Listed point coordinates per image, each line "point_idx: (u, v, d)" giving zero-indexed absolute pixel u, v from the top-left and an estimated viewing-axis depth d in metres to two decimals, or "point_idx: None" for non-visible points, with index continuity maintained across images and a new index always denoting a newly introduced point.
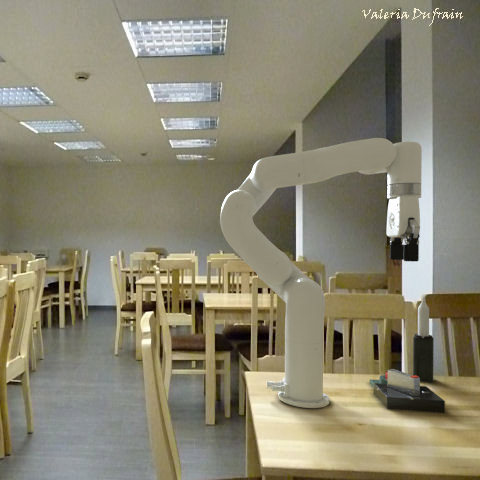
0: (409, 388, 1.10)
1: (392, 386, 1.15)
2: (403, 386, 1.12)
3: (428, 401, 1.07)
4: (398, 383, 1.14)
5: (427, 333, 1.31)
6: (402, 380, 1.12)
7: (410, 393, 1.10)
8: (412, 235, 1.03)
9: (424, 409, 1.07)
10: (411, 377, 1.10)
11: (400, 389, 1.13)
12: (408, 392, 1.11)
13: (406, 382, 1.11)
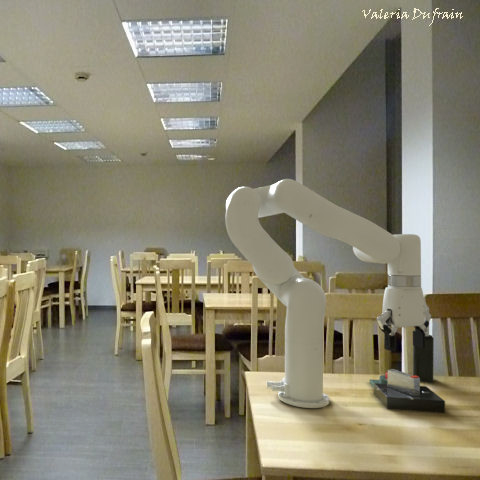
0: (409, 388, 1.10)
1: (392, 386, 1.15)
2: (403, 386, 1.12)
3: (428, 401, 1.07)
4: (398, 383, 1.14)
5: (427, 333, 1.31)
6: (402, 380, 1.12)
7: (410, 393, 1.10)
8: (379, 326, 1.11)
9: (424, 409, 1.07)
10: (411, 377, 1.10)
11: (400, 389, 1.13)
12: (408, 392, 1.11)
13: (406, 382, 1.11)
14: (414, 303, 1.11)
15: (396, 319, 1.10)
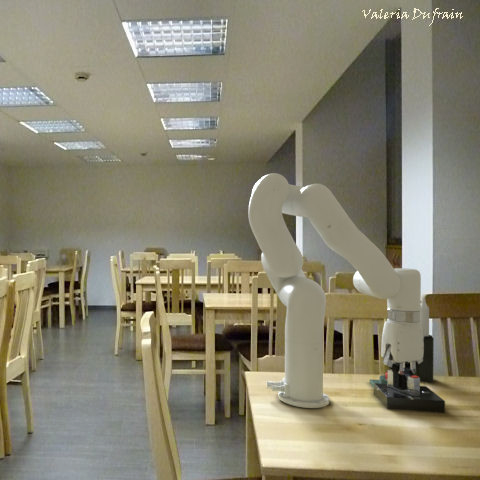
0: (409, 388, 1.10)
1: (392, 386, 1.15)
2: None
3: (428, 401, 1.07)
4: None
5: (427, 333, 1.31)
6: None
7: (410, 393, 1.10)
8: (389, 366, 1.13)
9: (424, 409, 1.07)
10: (411, 377, 1.10)
11: None
12: (408, 392, 1.11)
13: (406, 382, 1.11)
14: (413, 338, 1.11)
15: (395, 354, 1.10)
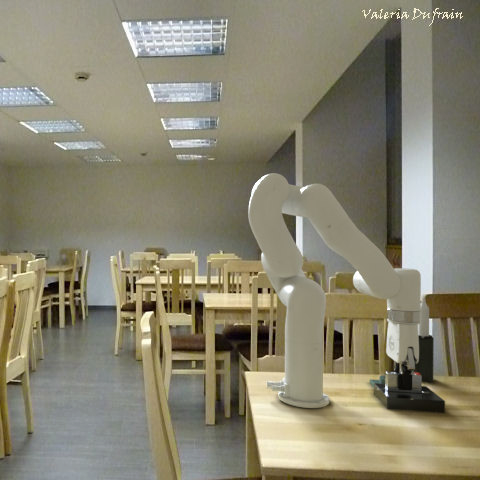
0: (416, 386, 1.12)
1: (394, 389, 1.13)
2: None
3: (428, 401, 1.07)
4: None
5: (427, 333, 1.31)
6: None
7: (417, 391, 1.12)
8: (406, 369, 1.10)
9: (424, 409, 1.07)
10: (418, 375, 1.12)
11: None
12: (414, 390, 1.12)
13: (412, 381, 1.12)
14: None
15: (418, 356, 1.08)
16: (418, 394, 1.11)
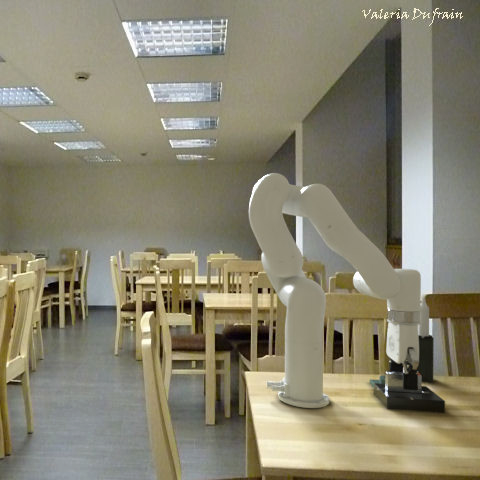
0: None
1: (394, 389, 1.13)
2: None
3: (428, 401, 1.07)
4: (402, 384, 1.13)
5: (427, 333, 1.31)
6: None
7: (417, 391, 1.12)
8: (411, 367, 1.06)
9: (424, 409, 1.07)
10: (418, 375, 1.12)
11: None
12: (414, 390, 1.12)
13: None
14: None
15: (418, 356, 1.08)
16: (418, 394, 1.11)
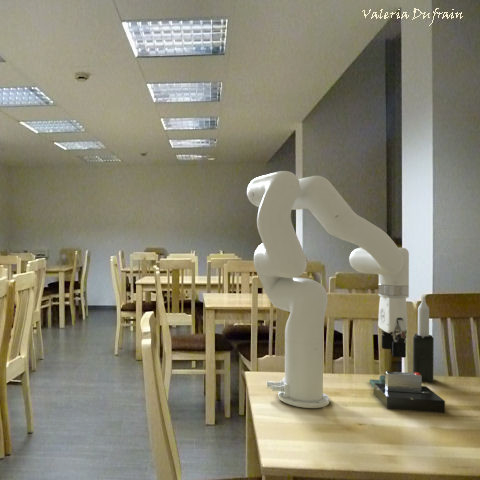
0: (416, 386, 1.12)
1: (394, 389, 1.13)
2: (408, 386, 1.12)
3: (428, 401, 1.07)
4: (402, 384, 1.13)
5: (427, 333, 1.31)
6: (407, 380, 1.12)
7: (417, 391, 1.12)
8: (400, 336, 1.17)
9: (424, 409, 1.07)
10: (418, 375, 1.12)
11: (405, 389, 1.12)
12: (414, 390, 1.12)
13: (412, 381, 1.12)
14: None
15: (406, 326, 1.19)
16: (418, 394, 1.11)
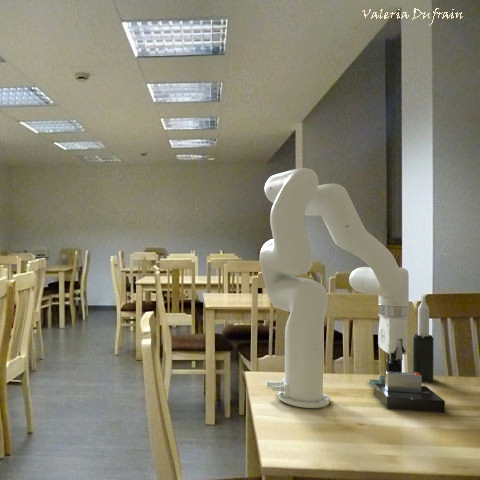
0: (416, 386, 1.12)
1: (394, 389, 1.13)
2: (408, 386, 1.12)
3: (428, 401, 1.07)
4: (402, 384, 1.13)
5: (427, 333, 1.31)
6: (407, 380, 1.12)
7: (417, 391, 1.12)
8: (394, 358, 1.21)
9: (424, 409, 1.07)
10: (418, 375, 1.12)
11: (405, 389, 1.12)
12: (414, 390, 1.12)
13: (412, 381, 1.12)
14: None
15: (406, 347, 1.19)
16: (418, 394, 1.11)
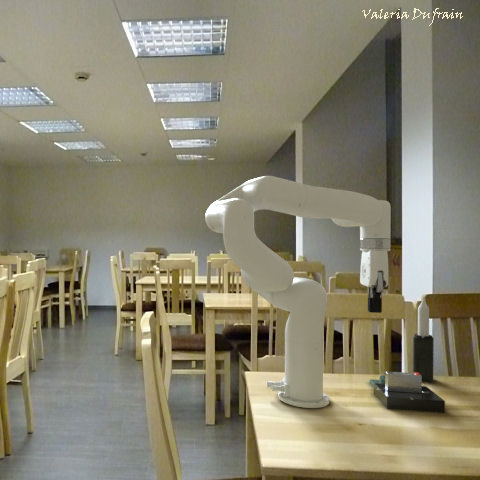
0: (416, 386, 1.12)
1: (394, 389, 1.13)
2: (408, 386, 1.12)
3: (428, 401, 1.07)
4: (402, 384, 1.13)
5: (427, 333, 1.31)
6: (407, 380, 1.12)
7: (417, 391, 1.12)
8: (375, 292, 1.18)
9: (424, 409, 1.07)
10: (418, 375, 1.12)
11: (405, 389, 1.12)
12: (414, 390, 1.12)
13: (412, 381, 1.12)
14: None
15: (387, 279, 1.16)
16: (418, 394, 1.11)
